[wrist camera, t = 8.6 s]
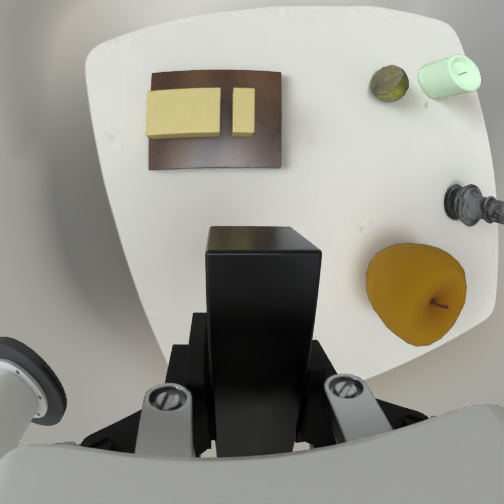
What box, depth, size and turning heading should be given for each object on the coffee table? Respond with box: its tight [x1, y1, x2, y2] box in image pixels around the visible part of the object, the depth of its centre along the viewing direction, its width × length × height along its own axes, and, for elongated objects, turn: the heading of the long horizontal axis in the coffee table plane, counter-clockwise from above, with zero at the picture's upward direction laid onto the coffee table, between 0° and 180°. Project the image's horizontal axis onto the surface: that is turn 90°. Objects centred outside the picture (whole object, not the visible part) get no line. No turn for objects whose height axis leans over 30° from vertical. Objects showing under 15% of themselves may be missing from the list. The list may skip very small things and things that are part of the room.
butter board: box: [149, 70, 281, 170], centre depth 29 cm, size 14×11×1 cm
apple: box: [366, 243, 467, 347], centre depth 30 cm, size 11×11×13 cm
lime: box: [370, 65, 409, 102], centre depth 28 cm, size 4×5×5 cm
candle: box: [418, 55, 481, 99], centre depth 26 cm, size 5×5×8 cm
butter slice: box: [231, 88, 255, 137], centre depth 27 cm, size 2×4×4 cm, turn 179°
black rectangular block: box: [205, 226, 322, 458], centre depth 11 cm, size 2×10×8 cm, turn 178°
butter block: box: [146, 88, 221, 139], centre depth 26 cm, size 7×4×4 cm, turn 89°
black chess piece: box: [444, 184, 504, 226], centre depth 30 cm, size 6×6×12 cm
